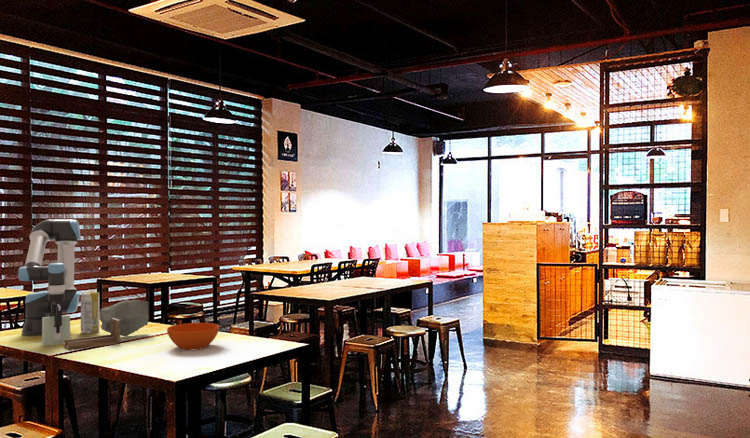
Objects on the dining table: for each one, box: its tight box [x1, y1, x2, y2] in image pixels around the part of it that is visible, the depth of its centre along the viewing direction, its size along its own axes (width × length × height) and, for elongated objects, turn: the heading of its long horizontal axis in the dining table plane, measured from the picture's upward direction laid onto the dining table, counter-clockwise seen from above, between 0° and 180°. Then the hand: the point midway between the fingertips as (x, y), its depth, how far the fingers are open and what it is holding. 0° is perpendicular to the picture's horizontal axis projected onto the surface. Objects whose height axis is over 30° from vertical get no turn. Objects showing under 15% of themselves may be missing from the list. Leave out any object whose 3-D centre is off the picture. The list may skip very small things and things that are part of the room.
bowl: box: [166, 322, 220, 351], centre depth 293 cm, size 25×25×10 cm
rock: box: [99, 299, 150, 337], centre depth 319 cm, size 27×6×20 cm, turn 137°
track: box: [63, 318, 121, 351], centre depth 297 cm, size 10×24×12 cm, turn 131°
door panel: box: [41, 314, 71, 347], centre depth 300 cm, size 4×12×14 cm, turn 131°
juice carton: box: [80, 289, 101, 335], centre depth 330 cm, size 9×8×24 cm
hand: (56, 338), depth 300 cm, fingers closed on door panel, 4 cm apart
